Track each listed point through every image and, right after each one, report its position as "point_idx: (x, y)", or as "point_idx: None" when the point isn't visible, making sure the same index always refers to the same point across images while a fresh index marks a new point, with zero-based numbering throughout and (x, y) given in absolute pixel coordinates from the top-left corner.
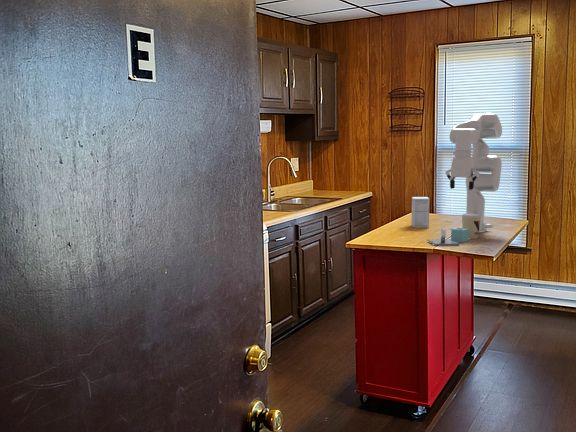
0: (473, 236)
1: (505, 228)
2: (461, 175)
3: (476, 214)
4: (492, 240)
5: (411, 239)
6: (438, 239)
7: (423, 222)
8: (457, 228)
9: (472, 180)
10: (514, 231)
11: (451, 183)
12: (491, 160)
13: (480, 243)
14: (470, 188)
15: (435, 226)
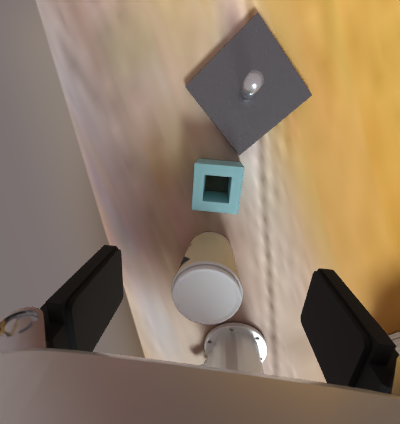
0: (194, 238)
1: None
2: (153, 402)
3: (192, 311)
4: (142, 237)
5: (375, 104)
6: (274, 122)
7: (395, 349)
8: (229, 196)
9: (2, 321)
10: None
11: (352, 308)
12: None
13: (149, 170)
14: (100, 254)
15: None
